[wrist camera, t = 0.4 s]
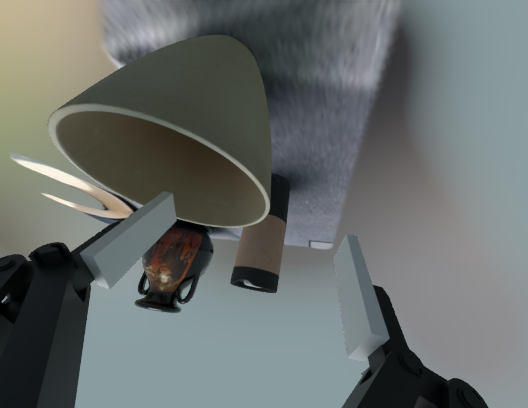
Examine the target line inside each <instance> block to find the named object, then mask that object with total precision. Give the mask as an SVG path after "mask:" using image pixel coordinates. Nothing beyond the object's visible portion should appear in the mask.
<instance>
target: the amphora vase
mask: <svg viewBox="0 0 528 408" xmlns="http://www.w3.org/2000/svg"><path fill="white" fill-rule="evenodd" d="M176 219H177V218H176ZM212 233H213V228H212V227H211V226H208V225H202V224H197V223H193V222H188V221H185V220H181V219H177V221H176V222H175V223H174V224H173V225H172V226H171V227H170V228H169V229H168V230H167V231H166V232H165V233H164V234H163V235H162V236H161V237H160V238H159V239H158V240H157V241H156V242H155V243H154V244H153V246H152V247H151V248H150V249H149V250H148V251H147V252H146V253H145V254H144V255H143V256H142V260H143V261H142V262H143V268H144V270H145V271H144V273H143V275H142V277H141V279H140V282H139V285H138V292H139V294H141V295H146V296H145V297H144V298H142V299H138V300H136V301H135V305H136V306H138V307H141V308H145V309H150V310H155V311H161V312H169V313H178V312H180V311H181V308H180V307H179V306H178V305H177V301H178V302H179V303H181V304H185V303H187V302H189V301H190V299H191V298H192V297H193V295H194V292H195V289H196V287H197V283H198V280H199V278H200V277H201V276H202V275H203V274H204V273H205V271H206V270H207V268H208V266H209V264H210V262H211V260H212V257H213V243H212V241H211V238H210V237H209V235H211V234H212ZM147 278H148V281H149V288H148V289H147V290H144V286H145V283H146V280H147ZM189 285H191V288H190V291H189V293H188V295H187V296H186V298H184V299H182V297H181V293H182V291H183V290H184V289H185V288H186V287H188V286H189Z"/></svg>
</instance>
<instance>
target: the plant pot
mask: <svg viewBox="0 0 528 408" xmlns="http://www.w3.org/2000/svg"><path fill="white" fill-rule="evenodd" d="M47 125H48V131H49V134H50V137H51V139H52V141H53V142H54V144H55V146H56V147H57V148H58V149H59V150H60V151H61V153H62V154H63V155H64V156H65V157H66V158H67V159H68V160H69V161H70V162H71V163H72V164H73V165H74V166H75V167H77V168H78V169H79V170H80V171H81V172H83V173H84V174H86V175H87V176H88V177H90V178H91V179H93V180H94V181H96V182H97V183H99V184H100V185H102V186H104V187H106V188H107V189H109V190H110V191H112V192H114V193H116V194H118V195H120V196H122V197H124V198H126V199H128V200H130V201H132V202H134V203H137V204H139V205H141V206H144V205H145V204H147V203H148V202H150V201H151V200H152V199H154V198H155V197H156V196H158V195H159V194H160V193H162V192H163V191H165V192H170V193H173V199H174V206H175V212H176V218H177V219H181V220H185V221H188V222H193V223H197V224H202V225H208V226H214V227H226V228H237V227H245V226H250V225H254V224H256V223H258V222H260V221H262V220H263V219H264V218H265V217H266V216H267V215H268V213H269V210H270V197H271V164H272V153H271V131H270V121H269V112H268V105H267V99H266V94H265V89H264V85H263V80H262V77H261V73H260V70H259V67H258V64H257V62H256V60H255V58H254V56H253V54H252V53H251V52H250V50H249V49H248V48H247V47H246V46H245V45H244V44H242V43H241V42H240V41H238V40H237V39H235V38H233V37H230V36H227V35H207V36H200V37H195V38H191V39H187V40H183V41H180V42H177V43H174V44H171V45H169V46H166V47H163V48H161V49H158V50H156V51H154V52H152V53H149V54H147V55H145V56H143V57H141V58H139V59H137V60H135V61H133V62H131V63H129V64H128V65H126V66H124V67H122V68H120V69H118V70H117V71H115V72H114V73H112V74H110V75H109V76H107V77H106V78H104V79H102V80H101V81H99V82H98V83H96V84H94V85H93V86H91V87H90V88H88V89H87V90H85V91H84V92H82V93H81V94H79V95H78V96H76V97H75V98H73V99H72V100H70V101H69V102H67V103H66V104H65V105H63V106H61V107H60V108H59V109H57V110H56V111H55V112H53V113H52V114H51V116H50V117H49V120H48V124H47Z"/></svg>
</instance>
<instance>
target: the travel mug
mask: <svg viewBox="0 0 528 408" xmlns="http://www.w3.org/2000/svg"><path fill="white" fill-rule="evenodd" d="M289 192H290V185H289V182H288V181H287V180H286V179H284V178H283V177H281V176H278V175H273V174H271V197H270V210H269V213H268V215H267V216H266V217H265V218H264V219H263V220H262V221H260V222H258V223H256V224H254V225H250V226H245V227H243V231H242V235H241V239H240V243H239V248H238V252H237V256H236V260H235V265H234V269H233V273H232V278H231V282H230V283H231V284H232V285H235V286H238V287H242V288H246V289H250V290H255V291H261V292H267V293H276V292H277V286H278V279H279V272H280V265H281V258H282V251H283V245H284V238H285V231H286V223H287V213H288V203H289Z"/></svg>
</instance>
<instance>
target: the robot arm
mask: <svg viewBox="0 0 528 408" xmlns="http://www.w3.org/2000/svg"><path fill="white" fill-rule="evenodd" d="M176 221H177V219H176V212H175V206H174V199H173V193H170V192H165V191H163V192H162V193H160V194H159V195H158V196H156V197H155V198H154V199H152V200H151V201H150V202H148V203H147V204H145V205H144V206H143V207H141V208H140V209H139V210H137V211H136V212H135V213H133V214H132V215H131V216H129V217H128V218H127V219H125V220H124V221H122V222H120V221H118V222H115V223H113V224H111V225H109V226H108V227H106V228H104V229H103V230H102V231H101V232H99V233H97V234H96V235H95V236H93V237H92V238H90V239H89V240H88V241H86V242H85V243H83V244H82V245H80V246H79V247H77V248H76V249H75V250H73V251H72V252H70V251H69V249H68V248H67V246H66V245H65V244H64V243H60V242H56V243H50V244H46V245H43V246H41V247H39V248H37V249H35V250H34V251H33V252H31V254H30V255H29V256H28V257H29V258H30V259H31V260H32V261H27V260H26V258H25V257H24V256H22V255H18V254H17V255H16V254H14V255H9V256H5V257H2V258H0V408H74V407H75V400H76V393H77V385H78V378H79V371H80V364H81V357H82V349H83V342H84V335H85V327H86V321H87V313H88V306H89V299H90V291H91V286H90V283H91V282H92V281H93V280H95V281H96V283H97V284H98V286H101V287H105V288H108V289H111V288H112V287H113V286H114V285H115V283H117V281H119V280H120V278H122V277H123V275H124V274H125V273H126V272H127V271H128V270H129V269H130V268H131V267H132V266H133V265H134V264H135V263H136V262H137V261H138V260H139V259H140V258H141V257H142V256H143V255H144V254H145V253H146V252H147V251H148V250H149V249H150V248H151V247H152V246H153V244H154V243H155V242H156V241H157V240H158V239H159V238H160V237H161V236H162V235H163V234H164V233H165V232H166V231H167V230H168V229H169V228H170V227H171V226H172V225H173V224H174V223H175V222H176ZM334 266H335V274H336V281H337V288H338V295H339V302H340V308H341V316H342V323H343V330H344V336H345V344H346V351H347V357H348V358H351V359H354V360H357V361H360V362H363V361H364V360H365V359H367V358H368V360H369V365H370V367H369V368H368V369H367V370H366V371H364V372H363V373H361V374H362V375H363V376H362V378H361V379H360V381H359V382H358V384H357V386H356V387H355V389H354V390H353V391H352V393H351V395H350V396H349V397H348V399H347V400H346V402H345V404H344V405H343V406H342V408H488V406H487V404H486V403H485V401H484V400H483V398H482V397H481V396H480V395H479V394H478V392H477V391H476V390H475V389H474V388H472V387H471V386H470V385H469V384H468V383H466V382H464V381H463V380H461V379H457V378H453V379H450V380H448V381H447V380H446V379H444V378H442V377H441V376H439V375H438V374H436V373H434V372H433V371H431V370H429V369H428V368H426V367H425V366H424V365H423V364H422V362H421V360H420V359H419V358H418V357H417V356H416V355H415V353H414V352H412V351H411V350H410V349H409V348H408V346H407V343H406V341H405V338H404V335H403V333H402V330H401V327H400V325H399V322H398V319H397V317H396V315H395V311H394V309H393V307H392V304H391V301H390V298H389V296H388V295H387V293H386V292H385V291H384V289H383V288H382V287H379V286H375V285H373V284H372V281H371V278H370V275H369V272H368V269H367V266H366V263H365V259H364V256H363V253H362V250H361V247H360V244H359V241H358V238H357V236H354V235H350V234H346V235H345V237H344V239H343V241H342V243H341V245H340V247H339V249H338V251H337V253H336V255H335V257H334ZM5 296H7V297H8V298H7V299H6V301H4V302H3V303H1V302H2V300H3V299H4V298H5Z"/></svg>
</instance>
